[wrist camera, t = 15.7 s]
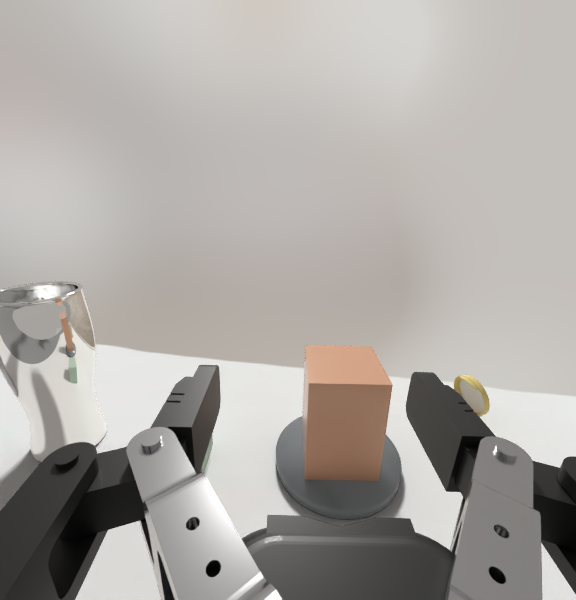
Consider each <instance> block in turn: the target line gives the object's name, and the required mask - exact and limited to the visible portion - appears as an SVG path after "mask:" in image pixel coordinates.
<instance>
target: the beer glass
mask: <svg viewBox="0 0 576 600" xmlns="http://www.w3.org/2000/svg"><path fill="white" fill-rule="evenodd" d="M0 371H1V373H2V375H3V377H4V379H5V380H6V382H7V384H8V385H9V387H10V389H11V390H12V392H13V394H14V395H15V397H16V398H17V400H18V401H19V403H20V405H21V406H22V408H23V410H24V412H25V413H26V416H27V419H28V421H29V425H30V432H31V452H32V456H33V457H34V458H35V459H36V460H37V461H39V462H42V461H43V460H44V459H45V458H46V457H47V456H48V455H49V454H51V453H52V452H54V451H55V450H57V449H59V448H61V447H63V446H66V445H68V444H72V443H76V442H87V443H91V444H93V445H94V446H96V445H97V444H98V443H99V442H100V441H101V440H102V439H103V437H104V436H105V434H106V432H107V422H106V420H105V418H104V416H103V414H102V412H101V410H100V407H99V405H98V401H97V397H96V342H95V336H94V329H93V325H92V321H91V317H90V313H89V309H88V306H87V303H86V299H85V297H84V293H83V289H82V285H81V284H78V283H75V282H63V281H60V282H59V281H57V282H56V281H55V282H41V283H31V284H24V285H19V286H13V287H8V288H4V289H0Z"/></svg>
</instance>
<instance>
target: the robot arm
mask: <svg viewBox="0 0 576 600" xmlns="http://www.w3.org/2000/svg"><path fill="white" fill-rule="evenodd" d="M219 409H220V377H219V367H218V365H199V367H198V369H197V371H196V372H195V374H194V376H193V377H184V378H183V379H182V380H181V381H179V382H178V383H177V384H176V385H175V386H174V388H173V390H172V392H171V394H170V395H169V397H168V398H167V400H166V402H165V404H164V405H163V407H162V409H161V411H160V412H159V414H158V416H157V417H156V419H155V421H154V423H153V424H152V426H151V428H150V429H147V430H144V431H142V432H140V433H139V434H137V435H136V436H135V437H133V438H132V439H131V441H130V442H129V444H128V446H127V447H124V448H121V449H117V450H112V451H108V452H103V453H98V454H97V451H96V448H95V446H94V445H93V444H91V443H87V442H76V443H72V444H68V445H66V446H63V447H61V448H59V449H57V450H55V451H54V452H52V453H51V454H49V455H48V456H47V457H46V458H45V459H44V460H43V461H42V462H41V463H40V465H39V466H38V467H37V468H36V469H35V471H34V472H33V473H32V474H31V475H30V477H29V478H28V479H27V480H26V481H25V483H24V484H23V485H22V486H21V487H20V489H19V490H18V491H17V492H16V493H15V495H14V496H13V497H12V498H11V499H10V501H9V502H8V503H7V504H6V505H5V507H4V508H3V509H2V510H1V511H0V600H75V598H76V596H77V594H78V592H79V590H80V588H81V586H82V584H83V581H84V579H85V577H86V575H87V573H88V571H89V569H90V567H91V564H92V562H93V560H94V558H95V556H96V554H97V552H98V550H99V548H100V545H101V543H102V541H103V539H104V537H105V535H106V533H107V531H108V530H109V529H112V528H115V527H119V526H122V525H126V524H129V523H132V522H136V521H139V523H140V526H141V529H142V533H143V536H144V539H145V543H146V546H147V549H148V553H149V556H150V559H151V563H152V566H153V569H154V573H155V577H156V580H157V585H158V589H159V593H160V597H161V600H542V561H541V543H542V544H543V546H544V547H545V549H546V550H547V552H548V553H549V555H550V556H551V558H552V559H553V561H554V562H555V564H556V565H557V567H558V568H559V570H560V571H561V573H562V574H563V576H564V577H565V579H566V580H567V582H568V583H569V585H570V586H571V588H572V589H573V591H574V592H575V594H576V457H567V458H565V459H564V460H563V463H562V465H561V467H560V468H558V467H554V466H550V465H546V464H542V463H539V462H535V461H532V459H531V457H530V456H529V455H528V454H527V453H526V452H525V451H524V450H523V449H522V448H520V447H519V446H518V445H516V444H514V443H512V442H510V441H508V440H506V439H503V438H499V437H496V436H495V435H494V434H493V433H492V431H491V430H490V429H489V428H488V427H487V426H486V424H485V423H484V422H483V421H482V420H481V418H480V417H479V416H478V415H477V414H476V413H475V412H474V411H473V409H472V408H471V407H470V405H469V404H467V402H466V401H465V400H464V398H463V397H462V396H461V395H460V394H459V393H458V392H457V391H455V390H454V389H452V388H451V387H449V386H448V385H444V384H443V383H442V382H441V381H440V380H439V378H438V377H437V376H436V375H435V374H434V373H428V372H414V373H413V374H412V377H411V381H410V386H409V392H408V397H407V402H406V413H407V417H408V419H409V421H410V423H411V425H412V427H413V429H414V431H415V433H416V435H417V437H418V438H419V440H420V442H421V444H422V446H423V448H424V450H425V452H426V454H427V456H428V457H429V459H430V461H431V463H432V465H433V467H434V469H435V471H436V473H437V475H438V476H439V478H440V480H441V482H442V484H443V486H444V488H445V490H446V491H449V492H461V494H462V496H463V499H462V502H461V506H460V510H459V514H458V518H457V522H456V527H455V531H454V535H453V539H452V543H451V547H450V550H448V549H447V548H446V547H444V546H443V545H441V544H439V543H438V542H436V541H434V540H432V539H430V538H428V537H426V536H424V535H421V534H419V533H415V531H414V528H413V525H412V523H411V520H410V519H405V518H372V519H369V520H365V521H361V522H357V523H353V524H349V525H346V526H336V525H332V524H329V523H326V522H322V521H319V520H315V519H312V518H308V517H305V516H287V515H268V517H267V528H264V529H261V530H258V531H255V532H253V533H251V534H249V535H247V536H245V537H244V538H242V539H241V537H240V535H239V534H238V532H237V530H236V528H235V527H234V525H233V523H232V521H231V520H230V518H229V516H228V514H227V513H226V511H225V509H224V507H223V506H222V504H221V502H220V500H219V499H218V497H217V495H216V493H215V492H214V490H213V488H212V486H211V485H210V483H209V481H208V479H207V478H206V476H205V475H204V473H203V472H200V471H201V468H202V464H203V461H204V458H205V455H206V452H207V448H208V445H209V442H210V439H211V436H212V432H213V429H214V426H215V423H216V420H217V416H218V413H219Z"/></svg>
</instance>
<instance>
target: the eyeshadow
mask: <svg viewBox="0 0 576 600" xmlns="http://www.w3.org/2000/svg"><path fill="white" fill-rule="evenodd" d="M454 390H455V391H457V392H458V393H459V394H460V395H461V396H462V397H463V398H464V400H465V401H466V402H467V404H469V405H470V407H471V408H472V409H473V411H474V412H475V413H476V414H477V415H478V416H479V417H480V416H482V415H484V414H486V413H487V412H488V410H489V399H488V396H487V393H486V391H485V389H484V388H483V386H482V385H481V384H480V383H479V382H478V381H477V380H476V379H475V378H474V377H472V376H470V375H460V376H458V377H456V379H455V381H454Z"/></svg>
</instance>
